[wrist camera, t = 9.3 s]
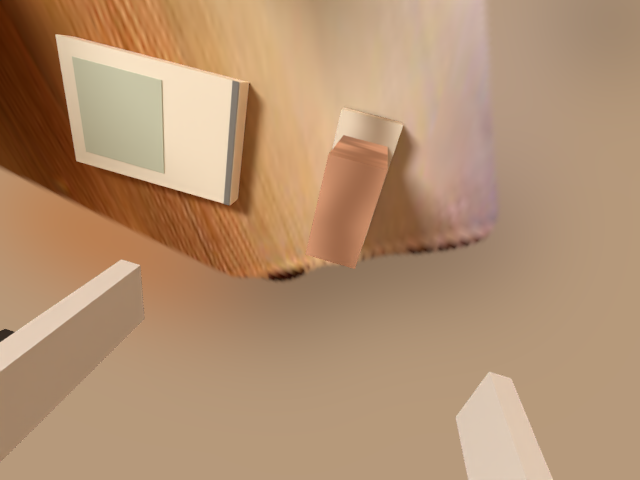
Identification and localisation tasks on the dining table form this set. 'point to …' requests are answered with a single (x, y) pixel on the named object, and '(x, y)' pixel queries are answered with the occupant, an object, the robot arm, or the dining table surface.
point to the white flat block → (154, 118)
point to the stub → (352, 185)
